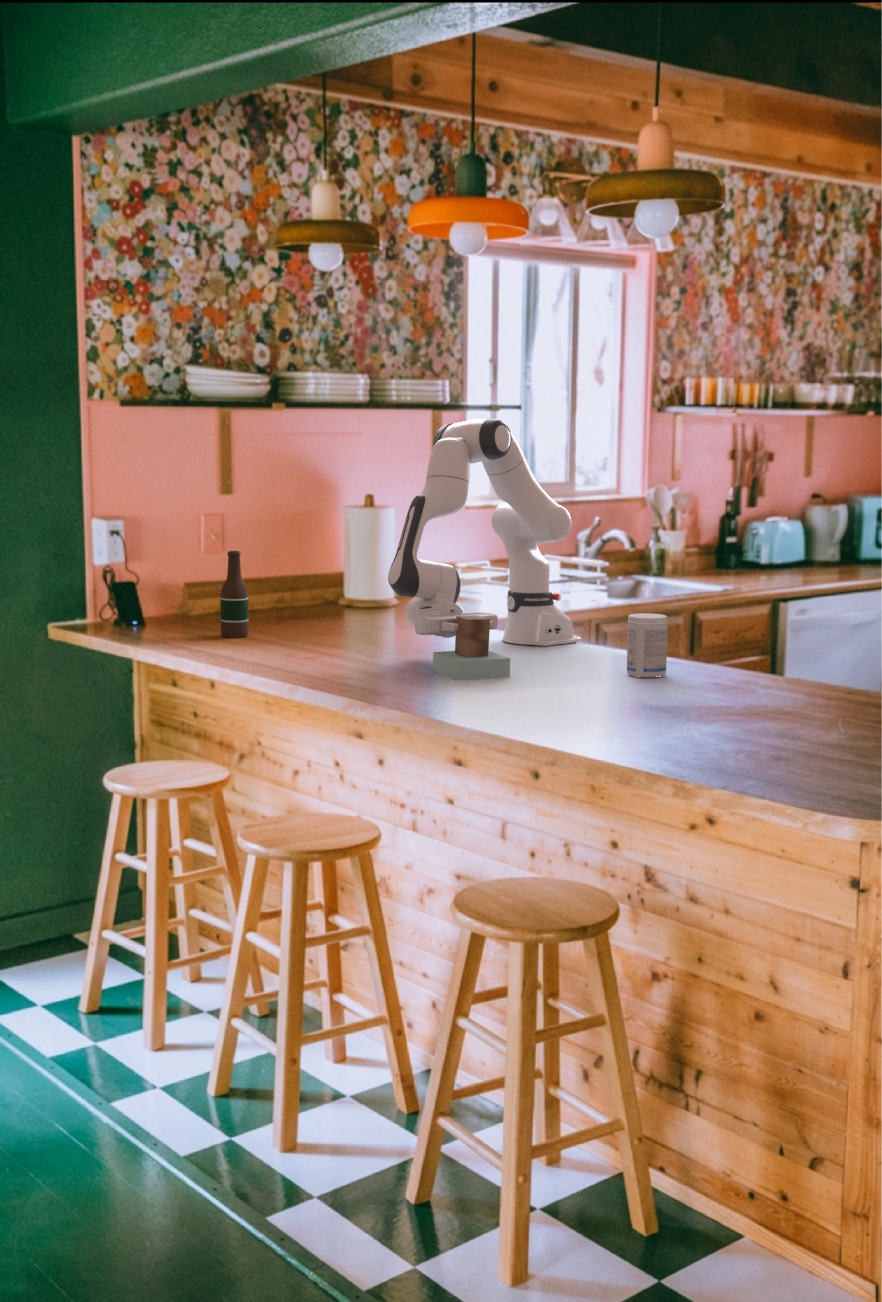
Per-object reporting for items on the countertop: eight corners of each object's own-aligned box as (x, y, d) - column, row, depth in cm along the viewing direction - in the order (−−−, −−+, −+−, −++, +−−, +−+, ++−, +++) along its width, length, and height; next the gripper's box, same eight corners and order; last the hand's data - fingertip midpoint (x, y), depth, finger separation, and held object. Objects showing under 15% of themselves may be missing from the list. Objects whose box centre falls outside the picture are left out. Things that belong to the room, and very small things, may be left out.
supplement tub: (670, 674, 325) (672, 614, 323) (660, 680, 316) (663, 619, 314) (631, 670, 329) (633, 611, 326) (621, 676, 320) (623, 616, 318)
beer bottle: (254, 636, 375) (253, 550, 371) (236, 639, 368) (235, 552, 364) (233, 633, 379) (232, 549, 375) (214, 636, 372) (214, 551, 368)
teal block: (484, 669, 330) (485, 649, 329) (509, 678, 318) (510, 658, 317) (432, 672, 325) (433, 652, 324) (456, 682, 312) (456, 661, 311)
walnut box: (476, 652, 324) (478, 615, 323) (488, 656, 319) (490, 619, 317) (454, 653, 322) (456, 616, 320) (466, 657, 316) (467, 619, 315)
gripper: (481, 629, 336) (510, 637, 324) (409, 634, 326) (436, 642, 314) (482, 604, 335) (510, 611, 323) (410, 608, 325) (436, 615, 313)
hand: (473, 626), depth 319 cm, fingers open, 8 cm apart
